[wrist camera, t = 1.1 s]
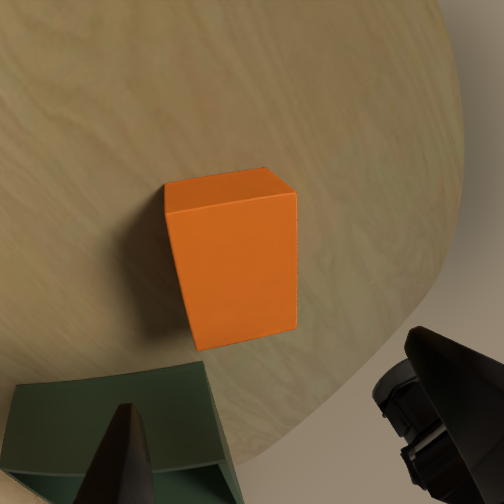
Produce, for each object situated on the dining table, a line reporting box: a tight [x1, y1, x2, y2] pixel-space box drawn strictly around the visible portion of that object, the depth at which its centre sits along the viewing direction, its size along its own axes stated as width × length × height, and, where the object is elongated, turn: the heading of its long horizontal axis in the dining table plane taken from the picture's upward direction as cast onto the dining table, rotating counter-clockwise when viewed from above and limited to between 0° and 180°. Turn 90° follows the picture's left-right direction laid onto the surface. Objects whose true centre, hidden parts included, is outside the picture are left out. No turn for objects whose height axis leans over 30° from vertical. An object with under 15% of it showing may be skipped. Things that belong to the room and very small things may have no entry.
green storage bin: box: [0, 361, 245, 504], centre depth 19 cm, size 15×13×8 cm
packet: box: [164, 168, 297, 351], centre depth 15 cm, size 5×7×4 cm
